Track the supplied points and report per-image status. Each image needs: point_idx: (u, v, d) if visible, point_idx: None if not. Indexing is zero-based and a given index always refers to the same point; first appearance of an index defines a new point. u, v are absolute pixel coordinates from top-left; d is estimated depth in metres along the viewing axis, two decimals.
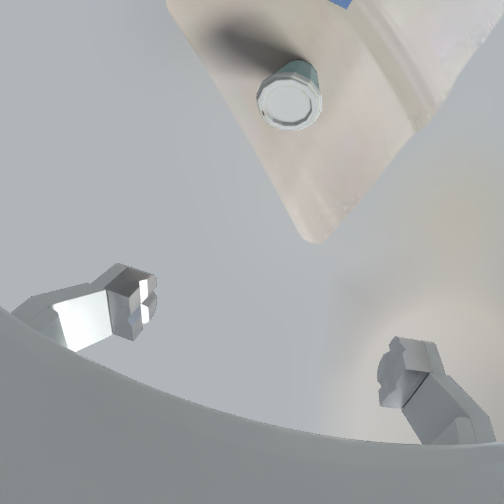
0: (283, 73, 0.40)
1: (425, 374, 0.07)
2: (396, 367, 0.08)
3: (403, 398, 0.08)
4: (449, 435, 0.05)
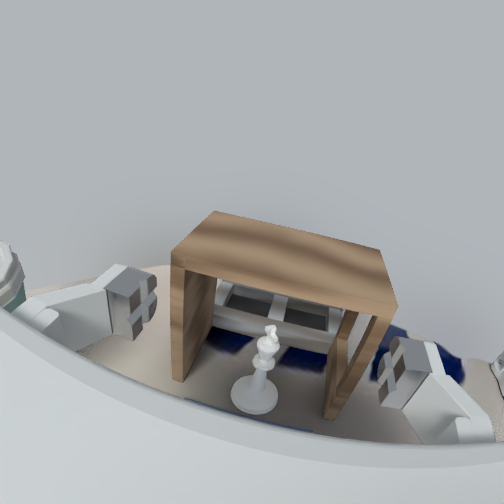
0: (19, 282, 0.19)
1: (425, 374, 0.07)
2: (396, 367, 0.08)
3: (403, 398, 0.08)
4: (449, 435, 0.05)
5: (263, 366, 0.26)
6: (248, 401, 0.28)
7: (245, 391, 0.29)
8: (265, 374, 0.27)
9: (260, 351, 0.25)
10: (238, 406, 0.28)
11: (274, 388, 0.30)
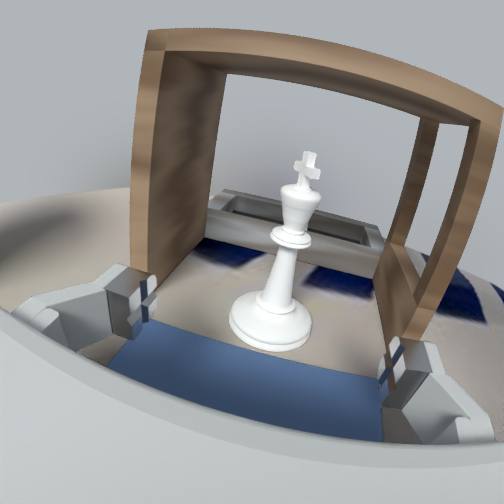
0: None
1: (425, 374, 0.07)
2: (396, 367, 0.08)
3: (403, 398, 0.08)
4: (449, 435, 0.05)
5: (292, 240, 0.15)
6: (261, 324, 0.16)
7: (255, 308, 0.17)
8: (293, 266, 0.16)
9: (287, 203, 0.14)
10: (242, 335, 0.16)
11: (304, 309, 0.18)
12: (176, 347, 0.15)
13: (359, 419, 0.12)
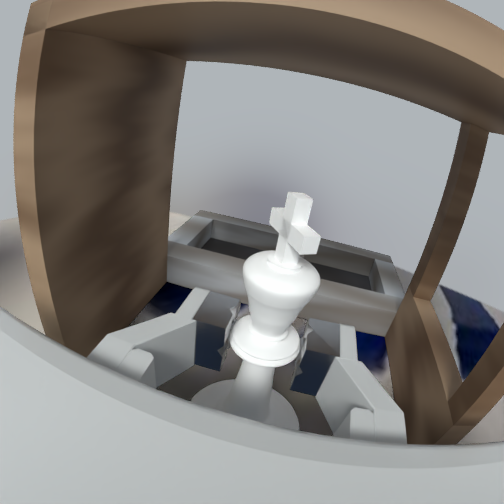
0: None
1: (333, 358, 0.08)
2: (302, 349, 0.08)
3: (313, 383, 0.08)
4: (344, 427, 0.06)
5: (264, 353, 0.08)
6: None
7: None
8: (270, 379, 0.09)
9: (254, 296, 0.07)
10: None
11: (290, 412, 0.12)
12: None
13: None
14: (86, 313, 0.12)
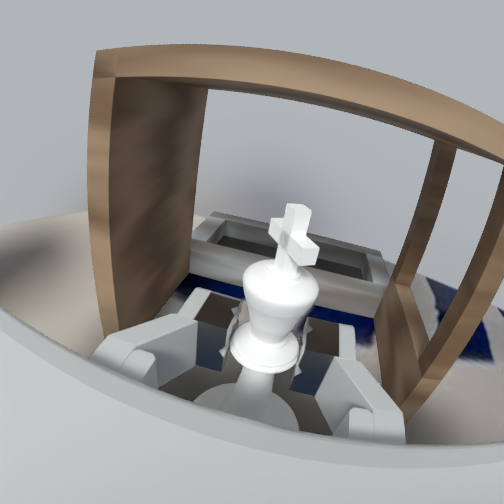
0: None
1: (332, 358, 0.08)
2: (302, 348, 0.08)
3: (313, 383, 0.08)
4: (343, 427, 0.06)
5: (264, 359, 0.08)
6: None
7: None
8: (269, 383, 0.09)
9: (254, 305, 0.08)
10: None
11: (290, 415, 0.12)
12: None
13: None
14: (134, 295, 0.16)
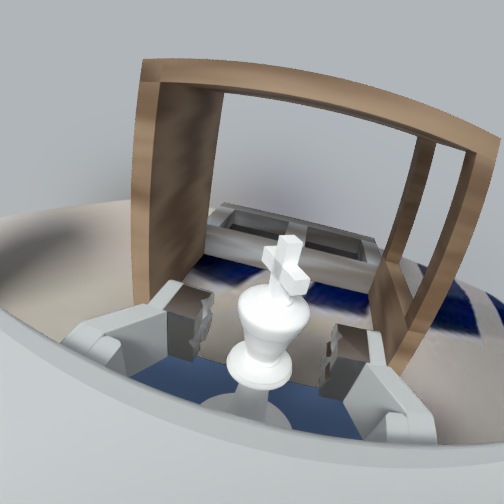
0: None
1: (363, 364, 0.08)
2: (332, 355, 0.08)
3: (342, 389, 0.08)
4: (379, 431, 0.06)
5: (259, 377, 0.09)
6: None
7: None
8: (265, 397, 0.10)
9: (249, 331, 0.08)
10: None
11: (285, 423, 0.12)
12: (179, 369, 0.15)
13: (349, 436, 0.13)
14: (162, 264, 0.19)
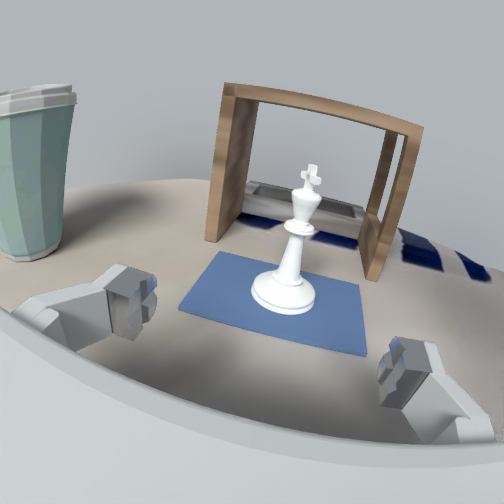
0: (73, 101, 0.20)
1: (425, 374, 0.07)
2: (396, 367, 0.08)
3: (403, 398, 0.08)
4: (449, 435, 0.05)
5: (300, 229, 0.20)
6: (278, 294, 0.22)
7: (272, 282, 0.22)
8: (301, 249, 0.21)
9: (297, 202, 0.19)
10: (264, 303, 0.22)
11: (309, 283, 0.24)
12: (241, 264, 0.27)
13: (347, 300, 0.24)
14: (225, 207, 0.30)
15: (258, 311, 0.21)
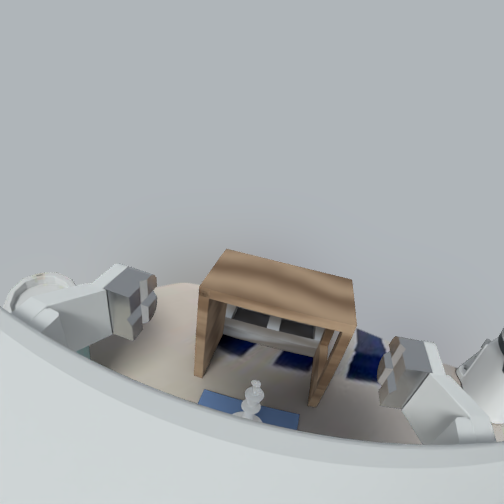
0: None
1: (425, 375, 0.07)
2: (396, 367, 0.08)
3: (403, 398, 0.08)
4: (449, 435, 0.05)
5: (250, 410, 0.30)
6: None
7: None
8: (252, 415, 0.31)
9: (247, 400, 0.29)
10: None
11: None
12: (218, 402, 0.36)
13: None
14: (207, 354, 0.40)
15: None
